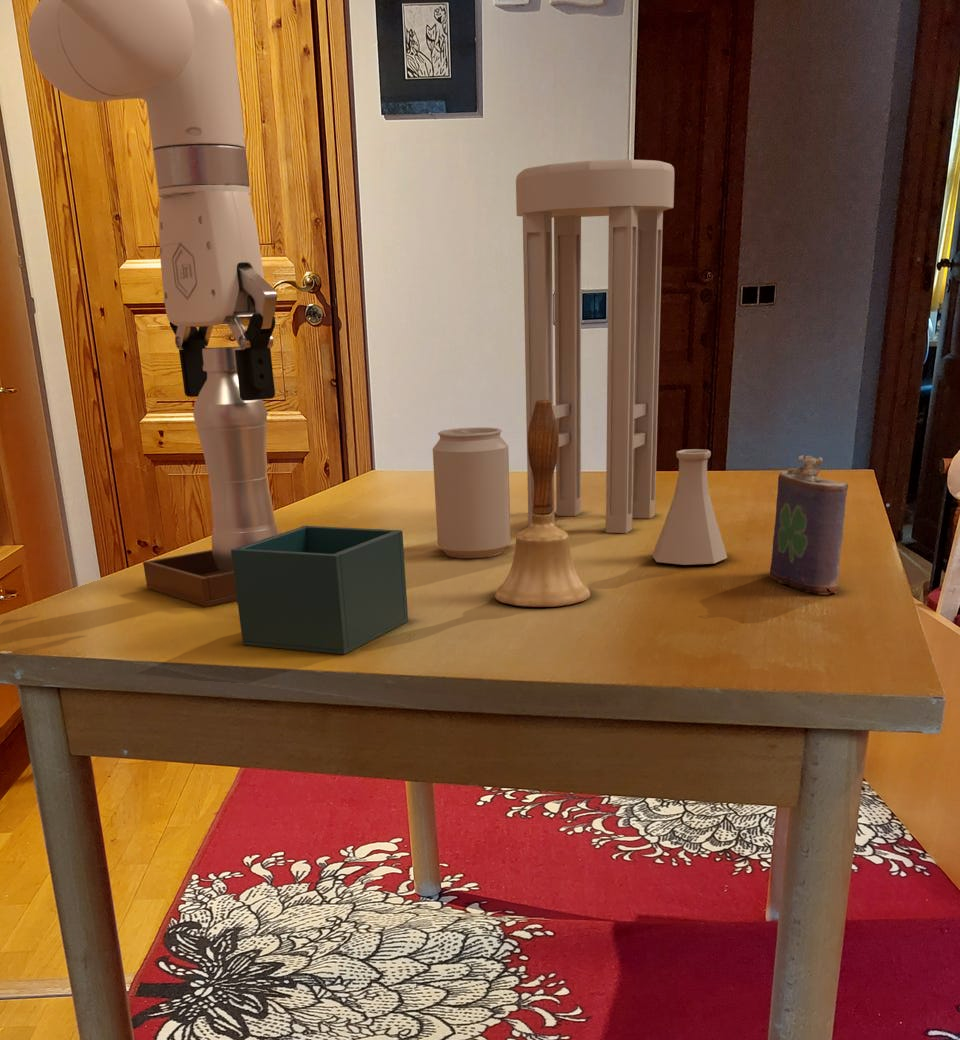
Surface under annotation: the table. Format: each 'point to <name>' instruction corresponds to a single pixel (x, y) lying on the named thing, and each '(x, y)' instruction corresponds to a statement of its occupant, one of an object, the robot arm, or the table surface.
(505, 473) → the can
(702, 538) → the flask
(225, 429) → the metal bottle
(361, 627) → the bin
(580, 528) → the table surface
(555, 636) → the table surface
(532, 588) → the hand bell
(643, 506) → the stool
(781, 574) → the flask
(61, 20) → the robot arm
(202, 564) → the tray
